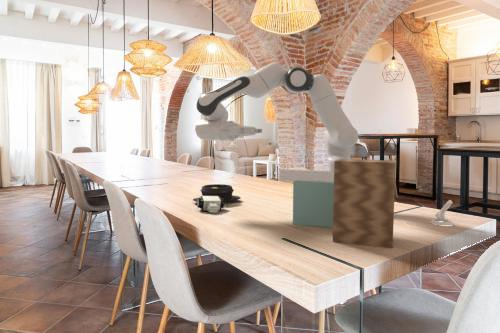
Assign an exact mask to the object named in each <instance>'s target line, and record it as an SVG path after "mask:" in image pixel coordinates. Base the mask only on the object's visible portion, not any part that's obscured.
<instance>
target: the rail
mask: <svg viewBox="0 0 500 333" xmlns="http://www.w3.org/2000/svg"><path fill="white" fill-rule="evenodd" d="M279 181H287V182H289V181H290V182H294V181H303V182H322V183H334V171H327V170H315V169H314V170H312V169H311V170H307V169H289V168H288V169H284V168H283V169H280V170H279Z"/></svg>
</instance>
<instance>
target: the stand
mask: <svg viewBox="0 0 500 333" xmlns="http://www.w3.org/2000/svg"><path fill="white" fill-rule="evenodd" d="M396 163H397V161H396V160H386V159H385V160H383V159H380V160H379V159H378V160H377V159H351V160H350V159H338V160H336V161H334V205H333V228H332V243H333V242H334V243H341V244H342V243H343V244H351V245H352V244H354V245H361V246H370V247H380V248H390V249H393V246H394V222H395V220H394V219H395V218H394V217H395V215H394V214H395V194H396V193H395V192H396V191H395V190H396V187H395V185H396Z"/></svg>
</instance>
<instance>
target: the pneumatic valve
mask: <svg viewBox="0 0 500 333" xmlns="http://www.w3.org/2000/svg"><path fill="white" fill-rule="evenodd" d="M197 198H198V199H197V202H196V207H197V209H199V208H200V211H203V212H204V211H205V212H208V213H210V214H217V213H219V211H222V209H224V207H225V204H224V199H223V198H220V197H219V196H202V195H200V196H199V197H197Z"/></svg>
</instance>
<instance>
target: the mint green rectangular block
mask: <svg viewBox="0 0 500 333" xmlns="http://www.w3.org/2000/svg"><path fill="white" fill-rule="evenodd" d="M292 184H293V185H292V186H293V187H292V188H293V189H292V191H293V192H292V224H293V225H299V226H308V227H309V226H310V227H318V228H319V227H320V228H328V229H329V228H331V229H333V205H334V183H322V182H303V181H292Z"/></svg>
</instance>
